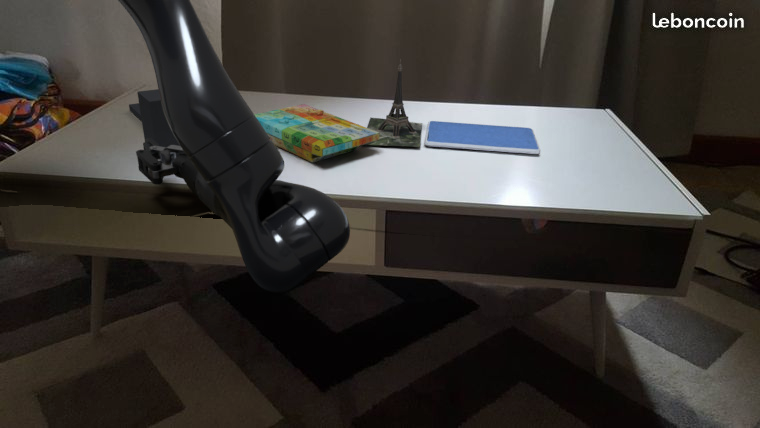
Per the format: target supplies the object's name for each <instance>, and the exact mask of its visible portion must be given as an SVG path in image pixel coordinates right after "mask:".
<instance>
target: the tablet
mask: <svg viewBox="0 0 760 428" xmlns="http://www.w3.org/2000/svg"><path fill="white" fill-rule="evenodd" d="M423 145H424V146H426V147H435V148H446V149H447V148H449V149H461V150H474V151H475V150H476V151H488V152H489V151H490V152H503V153H516V154H517V153H518V154H531V155H539V154H541V148H540V145H539V143H538V139H537V137H536V133H535V132H534V129H532V128H530V127H523V126H522V127H521V126H508V125H507V126H506V125H494V124H493V125H492V124H481V123H464V122H454V121H453V122H452V121H451V122H450V121H439V120H429V121H428V122H427V126H426V131H425V137H424V143H423Z"/></svg>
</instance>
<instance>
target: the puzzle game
mask: <svg viewBox="0 0 760 428" xmlns="http://www.w3.org/2000/svg"><path fill="white" fill-rule="evenodd" d="M253 114H254V115H255V116H256V118H257V119H258V121H259V122H260V124H261V125H262V127H263V128H264V130H265V131H266V133H267V134H268V136H269V137H270V140H272V142H273V143H274V145H275V146H276V147H277V148H280V149H282V150H285V151H286V152H289V153H290V154H293V155H295V156H298V157H300V158H301V159H304V160H306V161H308V162H310V163H316V162H320V161H323V160H327V159H330V158H334V157H336V156H340V155H344V154H347V153H351V152H354V151H356V150H357V149H358V148H359V147H360V146H363V144H367V143H370V142H374V141H377V140H379V138H380V133H379V132H376V131H373V130H371V129H368V128H367V126H362V125H360V124H358V123H356V122H355V123H354V122H352V121H350V120H348V119H345V118H342V117H339V116H337V115H334V114H331V113H329V112H326V111H324V110H323V109H318V108H317V107H314V106H311V105H308V104H305V103H302V104H298V105H293V106H289V107H283V108H278V109H274V110H268V111H265V112H264V111H263V112H259V113H253Z"/></svg>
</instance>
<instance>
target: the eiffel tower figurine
mask: <svg viewBox="0 0 760 428" xmlns="http://www.w3.org/2000/svg"><path fill="white" fill-rule="evenodd" d="M401 61H402V59H401V58H400V61H399V63H400V64H399V65H397V79H396V85H395V86H396V87H395V92H394V99H393V101H392V103H391V104H392V106H391V108H390V110H389V112H388V114H386V116H385V118H380V117H370V118H369V120H368V124H367V126H366V128H368V129H371V130H373V131H376V132H379V133H380V138H379V140H377V141H374V142H370V143H367V144H363V145H365V146H385V147H386V146H387V147H389V146H390V147H415V148H416V147H417V148H420V146H421V140H422V127H423V123H421V122H412V121H410V120H409V116H407V114H406V111H405V107H404V104H405V103H404V101H403V83H402V82H403V81H402V80H403V79H402V77H403V74H402V73H403V72H402V71H403V65H402V63H401ZM363 145H362V146H363Z"/></svg>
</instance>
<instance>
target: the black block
mask: <svg viewBox="0 0 760 428" xmlns="http://www.w3.org/2000/svg"><path fill="white" fill-rule="evenodd" d="M136 94H137V100H138V103H139V106H140V113H141V119H142V121H141V125H142V132H143V138H144V142H146V139H147V138H153V139H154V140H155V141H156V142H157V143H158V144H159V145H160V146H161V147H168V146H170V145H178V146H180V145H179V143H178V142H177V140H176V138H175V136H174V135H173V133H172V131H171V129H170V126H169V124H168V122H167V119H166V116H165V114H164V110H163V107H162V103H161V98H160V94H159V89H158V88H157V89H147V90H140V91H137V93H136ZM175 154H176V157H177V156H178V155H179V153H175ZM161 158H162V161H165V156H164V155H163V154H161Z"/></svg>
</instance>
